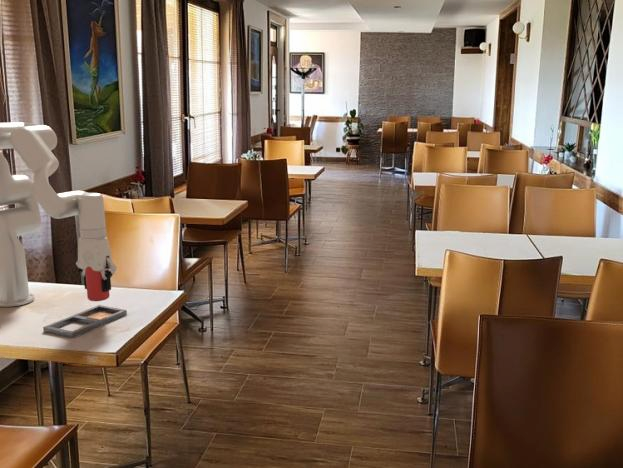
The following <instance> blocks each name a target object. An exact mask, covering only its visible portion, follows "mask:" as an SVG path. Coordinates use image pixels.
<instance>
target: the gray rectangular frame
mask: <svg viewBox="0 0 623 468" xmlns="http://www.w3.org/2000/svg"><path fill="white" fill-rule="evenodd" d="M127 314H128V311H127V309H123V308H118V307H112V306H108V305H107V306H106V305H101V304H98V305H95V306H93V307H91V308H88V309H86V310H83V311H81V312H79V313H76V314H73V315H71V316H68V317H66V318H65V317H64V318H63V319H60V320H57V321H55V322H53V323H50V324H47V325H46V326H43V329H42V330H43V331H42V332H43V333H47V334H51V335H56V336H60V337H66V338H69V339H74V338H76V337H79V336H81V335H83V334H86V333H88V332H91V331H93V330H95V329H97V328H99V327H102V326H104V325H106V324H109V323H111V322H113V321H115V320H118V319H120V318H123V317H124V316H126V315H127ZM71 323H79V324H83V325H84V326H82V327H80V328H77V329H74V330H68V329H63V328H61V327H64V326H66V325H68V324H71Z"/></svg>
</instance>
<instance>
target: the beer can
mask: <svg viewBox="0 0 623 468" xmlns="http://www.w3.org/2000/svg"><path fill="white" fill-rule="evenodd" d="M105 268H106V266H105ZM104 272H105V274H106V271H104ZM85 274H86V286H87V289H86V295H87V296H86V297H87V299H88V301H90V302H101V301H106V300H108V299H109V298H110V290H109V291H106V292H103V291H102V279H103V277H102V275H101V272H96V271H93V269H92V268H91V267H89V266H88V267H87V268H86V270H85Z"/></svg>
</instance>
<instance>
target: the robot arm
mask: <svg viewBox="0 0 623 468" xmlns="http://www.w3.org/2000/svg"><path fill="white" fill-rule="evenodd" d="M57 145H58V137H57V134H56V133H55V131H54V129H52V128H51V127H50V126H48V125H46V124H38V123H31V122H24V121H12V122H11V121H8V122H6V121H5V122H0V150H8V149H9V150H10V149H14V150H15V151H16V153H17V154H18V156H19V157H20V158H21V160H22V161H23V163H24V164H25V165H26V166H27V168H28V169H29V170H30V172H31V173H32V174H33V179H32V180H31V178H30V177H29V176H27V175H24V174H12V173H11V169H10V165H9V162H8V160H7V158H6V157H5V156H4V155H3V154H2V152H0V207H1V206H2V207H3V206H9V205H15V207H11V208H6V209H1V210H0V307H1V308H10V307H18V306H24V305H27V304H29V303H32V302H33V301H35V295H34V293H30V291H29V290H30V289H29V281H28V278H29V277H28V270H27V259H26V251H25V248H24V245H23V244H22V243H21V241H20V240H19V239H18V237H20V236H25V235H29V234H33V233H35V232H37V231H39V229H40V228H41V223H42V219H41V218H42V217H41V212H40V207H41V208H42V210H43V211H44V212H45V213H46V214H47V215H49V217H51V218H53V219H56V220H57V219H58V220H59V219H65V218H69V217H75V216H78V219H79V220H78V222H79V224H78V225H79V229H78V233H80V235H79V236H80V237H78V242H77V243H78V244H77V261H76V262H75V265H76V266H77V268H78V270H79V272H80V273H81V276H82V277H83V285H84V290H87V286H86V274H85V270H86V268H87V267H88V266H89V267H91V268H92V269H93V271H96V272H101V275H102V277H103V279H102V291H103V292H106V291H109V292H110V291H111V290H112V281H111V279H112V277H113V275H114V274H115V272H116V271H117V270H118V269H117V268H118V267H117V266H116V264H115V263H114V262H113V259H112V258H113V257H112V251H111V246H110V242H109V238H108V237H107V226H106V216H105V214H106V213H105V204H104V201H105V200H104V196H103V195H102V194H101V193H100V192H99V193H98V192H87V191H83V190H72V191H65V192H59V193H57V192H56V191H55V189H54V188H53V187H52V186H51V184H50V181H49V179H48V178H49V177H50V176H52V175H53V174H54V173H56V171H57V169H58V168H59V167H60V166H59V165H60V162H59V160H58V158H57V157H56V156H55V155H54V153H53V152H52V151H53V150H54V149H55V148H56V147H57ZM39 205H40V206H39ZM105 266H106V268H105ZM104 271H106V274H105V272H104Z"/></svg>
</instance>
